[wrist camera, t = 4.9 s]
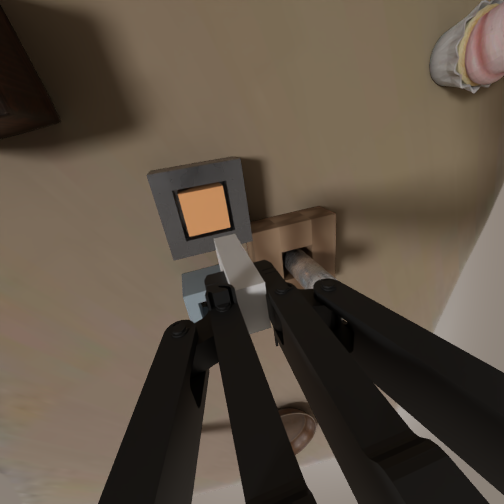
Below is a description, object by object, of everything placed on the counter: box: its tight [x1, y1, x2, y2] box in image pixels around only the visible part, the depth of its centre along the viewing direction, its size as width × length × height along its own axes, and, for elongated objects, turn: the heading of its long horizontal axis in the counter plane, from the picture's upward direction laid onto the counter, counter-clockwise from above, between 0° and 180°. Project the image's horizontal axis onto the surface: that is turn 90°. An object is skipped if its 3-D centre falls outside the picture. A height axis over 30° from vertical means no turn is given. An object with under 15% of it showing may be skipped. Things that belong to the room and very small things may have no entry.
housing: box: [147, 157, 253, 260], centre depth 30 cm, size 10×10×4 cm
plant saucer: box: [278, 408, 316, 455], centre depth 56 cm, size 18×18×3 cm
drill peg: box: [282, 248, 343, 319], centre depth 32 cm, size 4×4×15 cm
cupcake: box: [430, 0, 504, 93], centre depth 29 cm, size 9×9×10 cm
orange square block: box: [178, 182, 230, 237], centre depth 30 cm, size 5×5×4 cm
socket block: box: [246, 206, 336, 289], centre depth 37 cm, size 12×12×4 cm
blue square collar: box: [182, 265, 221, 323], centre depth 35 cm, size 8×8×6 cm
